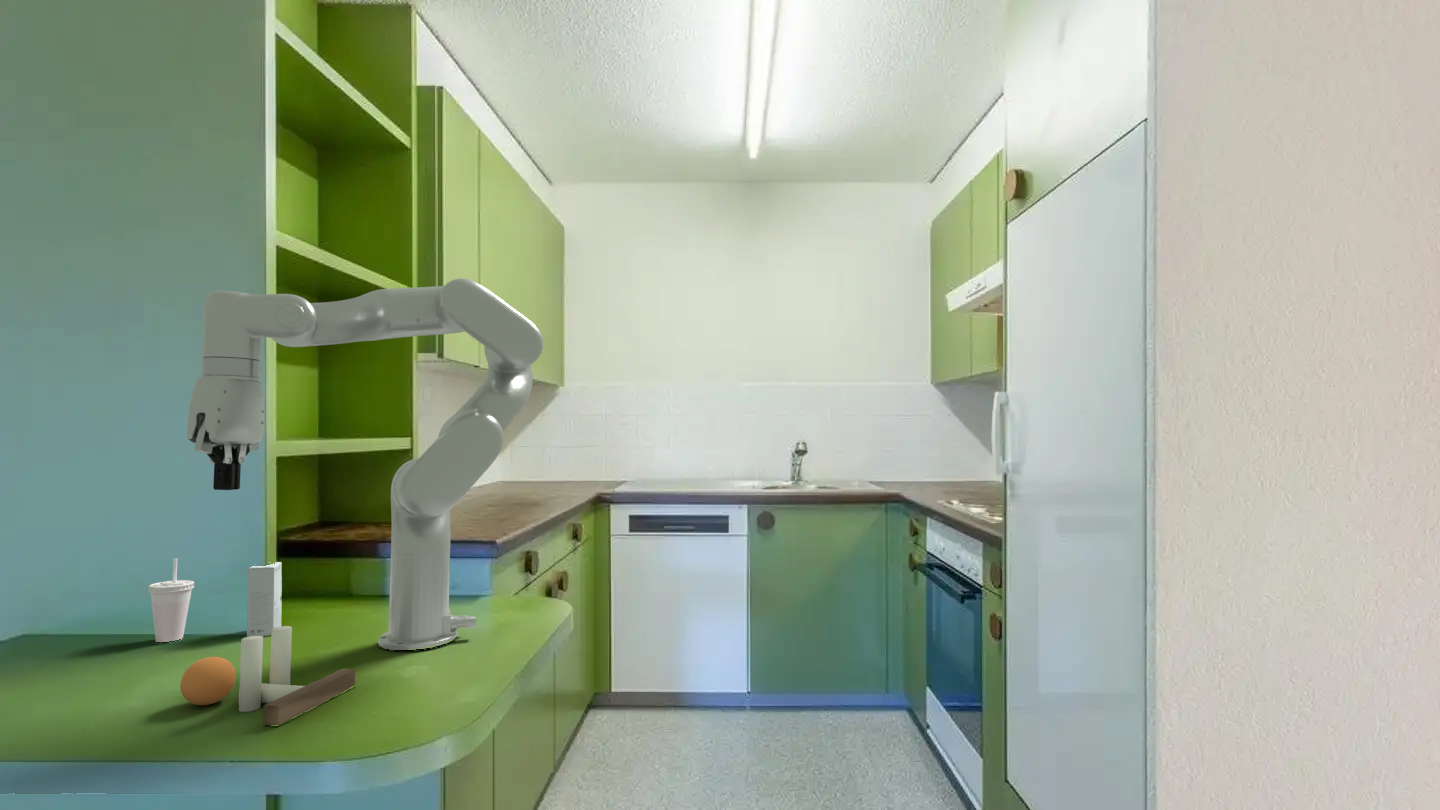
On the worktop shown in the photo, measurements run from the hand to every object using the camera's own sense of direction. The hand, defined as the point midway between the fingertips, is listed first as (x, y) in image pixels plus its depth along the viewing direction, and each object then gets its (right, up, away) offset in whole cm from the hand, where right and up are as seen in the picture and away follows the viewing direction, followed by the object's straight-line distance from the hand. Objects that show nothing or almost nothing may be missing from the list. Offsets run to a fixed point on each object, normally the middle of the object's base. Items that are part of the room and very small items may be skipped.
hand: (226, 489), depth 111 cm
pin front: (+13, -25, -15) cm, 32 cm away
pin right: (+16, -27, -13) cm, 34 cm away
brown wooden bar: (+23, -27, -17) cm, 39 cm away
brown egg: (+9, -23, -16) cm, 30 cm away
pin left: (+15, -26, -18) cm, 35 cm away
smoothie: (-19, -28, +13) cm, 36 cm away
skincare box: (-6, -28, +18) cm, 34 cm away
